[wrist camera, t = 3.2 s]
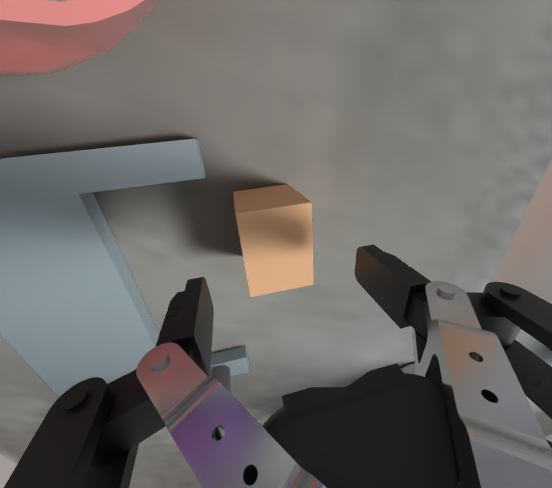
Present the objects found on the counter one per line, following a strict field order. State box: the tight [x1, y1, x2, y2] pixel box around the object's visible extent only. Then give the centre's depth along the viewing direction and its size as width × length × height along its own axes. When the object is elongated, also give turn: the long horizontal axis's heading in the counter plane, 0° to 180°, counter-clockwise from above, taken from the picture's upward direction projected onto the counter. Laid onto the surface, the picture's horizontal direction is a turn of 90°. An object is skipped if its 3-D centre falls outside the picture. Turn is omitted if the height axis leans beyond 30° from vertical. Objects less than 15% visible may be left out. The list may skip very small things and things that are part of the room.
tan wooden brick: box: [233, 184, 313, 297], centre depth 17 cm, size 5×6×6 cm
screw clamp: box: [0, 139, 250, 397], centre depth 14 cm, size 21×24×14 cm
